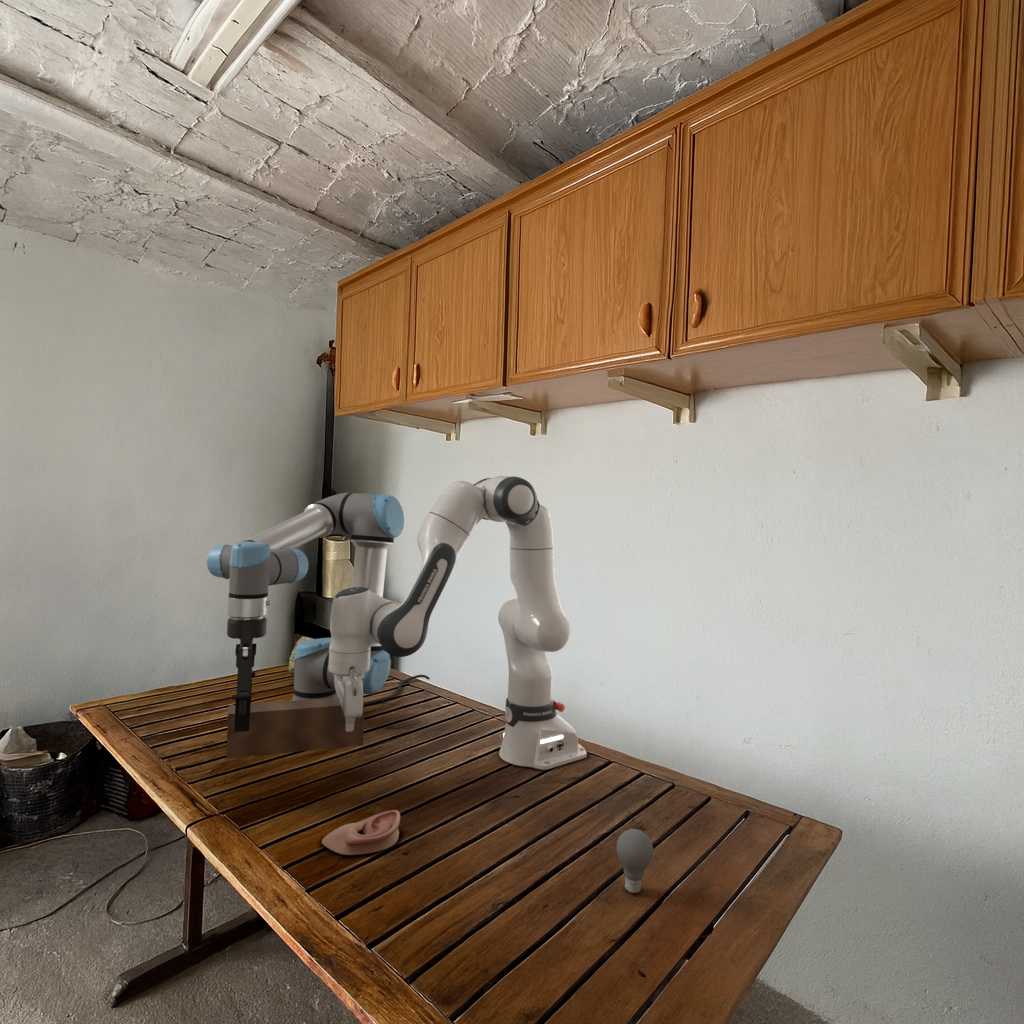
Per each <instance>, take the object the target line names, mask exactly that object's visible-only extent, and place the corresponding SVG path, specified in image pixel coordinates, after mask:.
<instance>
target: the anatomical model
mask: <svg viewBox="0 0 1024 1024" xmlns="http://www.w3.org/2000/svg"><path fill="white" fill-rule="evenodd" d="M400 823H401V813H400V811H399V810H397V809H392V810H391V809H390V810H387V811H383V812H380V813H377V814H373V815H371V816H369V817H367V818H365V819H362V820H360V821H356V822H349V823H346V824H344V825H341V826H339V827H337V828H335V829H334V830H332V831H331V832H329V833H328V834H326V835H325V836H324V837H323V838H322V840H321V844H322V845H323V846H324V847H325V848H327V849H328V850H330V851H332V852H334V853H337V854H339V855H342V856H356V855H357V856H358V855H366V854H371V853H378V852H382V851H383V850H386V849H388V848H390V847H392V846H394V845H395V844H396V843H397V842H398V840H399V836H400V830H399V827H400Z"/></svg>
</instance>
